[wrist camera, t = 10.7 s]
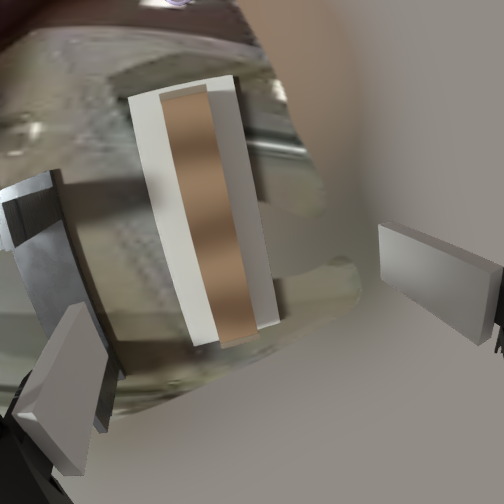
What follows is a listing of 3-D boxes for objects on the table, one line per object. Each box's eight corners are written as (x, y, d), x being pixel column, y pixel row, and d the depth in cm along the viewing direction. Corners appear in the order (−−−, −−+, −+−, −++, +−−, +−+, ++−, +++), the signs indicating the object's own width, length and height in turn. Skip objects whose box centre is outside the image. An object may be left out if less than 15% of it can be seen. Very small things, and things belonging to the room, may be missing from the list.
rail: (160, 100, 24) (158, 93, 21) (202, 91, 25) (205, 83, 22) (217, 331, 31) (221, 349, 28) (252, 322, 32) (260, 338, 29)
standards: (-1, 191, 23) (-63, 210, 14) (52, 169, 24) (-3, 179, 15) (76, 383, 30) (57, 448, 21) (126, 374, 31) (117, 443, 22)
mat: (129, 98, 24) (128, 97, 23) (231, 76, 25) (232, 74, 25) (193, 343, 32) (194, 346, 31) (278, 319, 33) (280, 322, 33)
